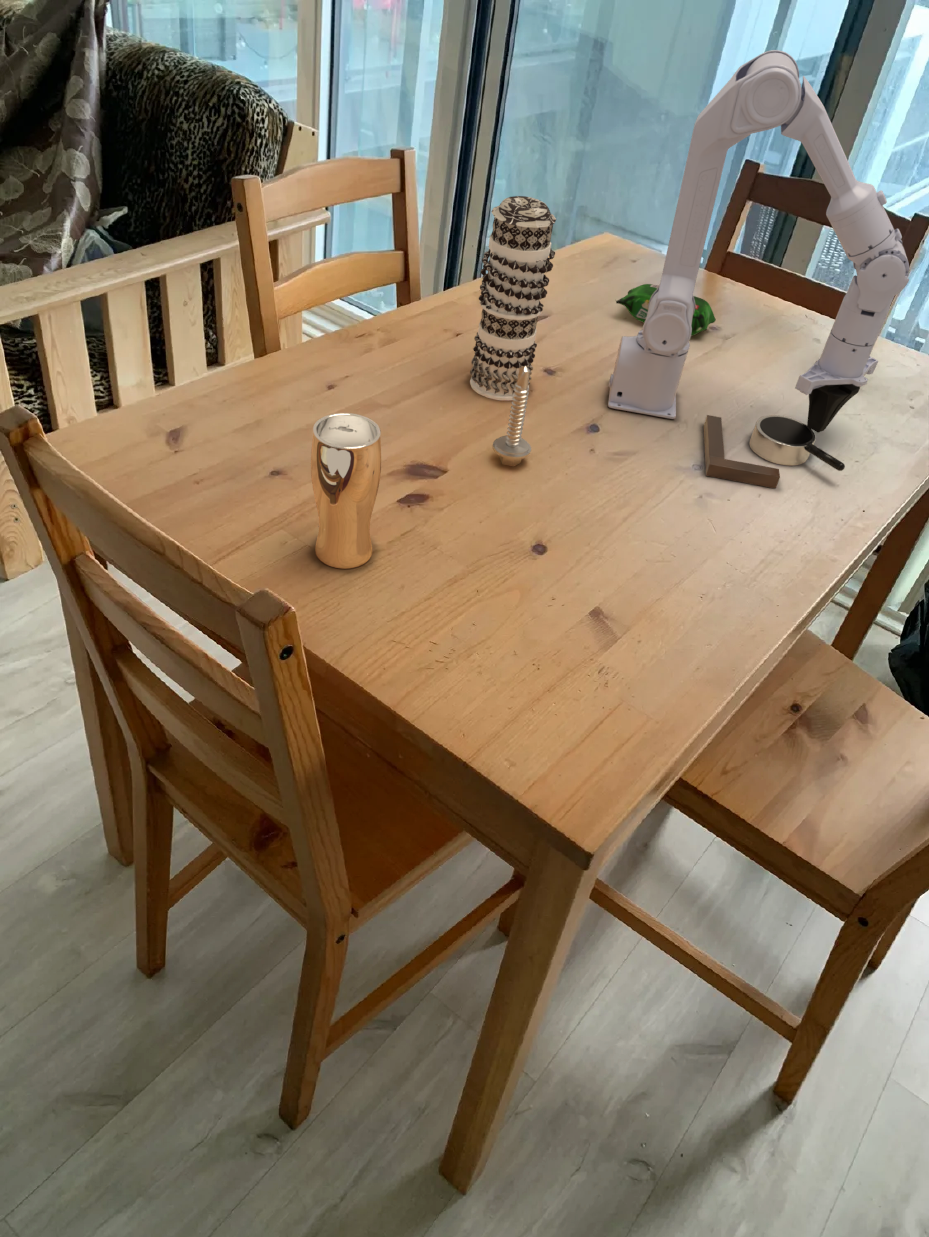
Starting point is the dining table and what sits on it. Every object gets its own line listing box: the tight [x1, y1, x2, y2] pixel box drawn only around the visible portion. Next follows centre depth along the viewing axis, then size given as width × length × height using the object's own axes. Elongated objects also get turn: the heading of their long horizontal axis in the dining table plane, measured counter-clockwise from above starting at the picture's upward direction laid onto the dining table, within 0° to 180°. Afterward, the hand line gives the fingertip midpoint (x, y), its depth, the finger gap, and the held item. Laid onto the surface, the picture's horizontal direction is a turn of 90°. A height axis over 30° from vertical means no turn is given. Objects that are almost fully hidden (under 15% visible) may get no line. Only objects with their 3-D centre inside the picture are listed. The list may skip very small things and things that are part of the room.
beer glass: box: [310, 412, 382, 570], centre depth 95 cm, size 7×7×15 cm
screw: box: [492, 366, 532, 467], centre depth 113 cm, size 13×5×5 cm
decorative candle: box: [469, 195, 557, 401], centre depth 123 cm, size 9×9×25 cm
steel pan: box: [749, 414, 846, 472], centre depth 124 cm, size 14×8×3 cm, turn 35°
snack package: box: [615, 283, 717, 337], centre depth 151 cm, size 7×16×5 cm, turn 64°
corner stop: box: [703, 414, 781, 489], centre depth 123 cm, size 9×13×2 cm
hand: (815, 428), depth 129 cm, fingers closed
